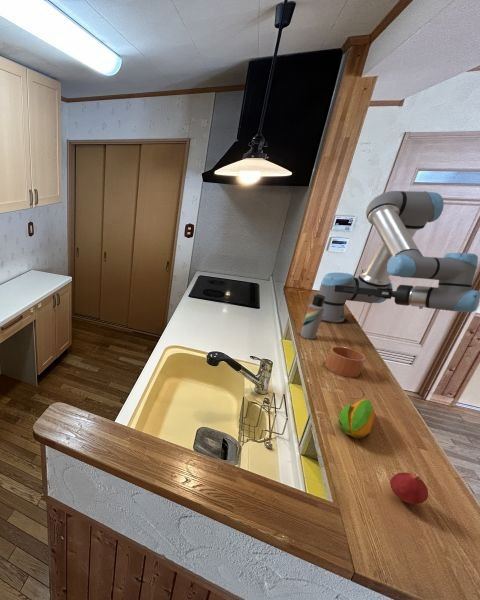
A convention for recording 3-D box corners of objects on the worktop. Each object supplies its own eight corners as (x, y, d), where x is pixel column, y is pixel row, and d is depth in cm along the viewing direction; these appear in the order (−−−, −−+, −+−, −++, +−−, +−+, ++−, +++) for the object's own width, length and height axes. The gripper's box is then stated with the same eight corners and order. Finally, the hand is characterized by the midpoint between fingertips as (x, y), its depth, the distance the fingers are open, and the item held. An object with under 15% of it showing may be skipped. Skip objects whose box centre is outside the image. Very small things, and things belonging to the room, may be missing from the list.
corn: (339, 411, 87) (356, 383, 100) (329, 432, 90) (346, 402, 103) (374, 428, 82) (387, 396, 95) (361, 450, 85) (375, 416, 98)
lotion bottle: (310, 334, 149) (323, 293, 142) (317, 339, 143) (331, 298, 136) (297, 333, 149) (309, 292, 142) (304, 339, 144) (317, 297, 137)
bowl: (350, 364, 125) (356, 348, 122) (364, 379, 116) (371, 362, 113) (320, 360, 127) (325, 344, 125) (332, 374, 118) (338, 358, 115)
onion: (378, 489, 74) (390, 463, 71) (400, 487, 75) (414, 461, 72) (403, 513, 69) (418, 486, 66) (428, 511, 69) (443, 485, 66)
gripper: (399, 305, 111) (327, 297, 129) (419, 306, 125) (351, 298, 143) (403, 283, 111) (331, 278, 128) (423, 287, 124) (354, 281, 142)
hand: (341, 289), depth 135 cm, fingers open, 13 cm apart
